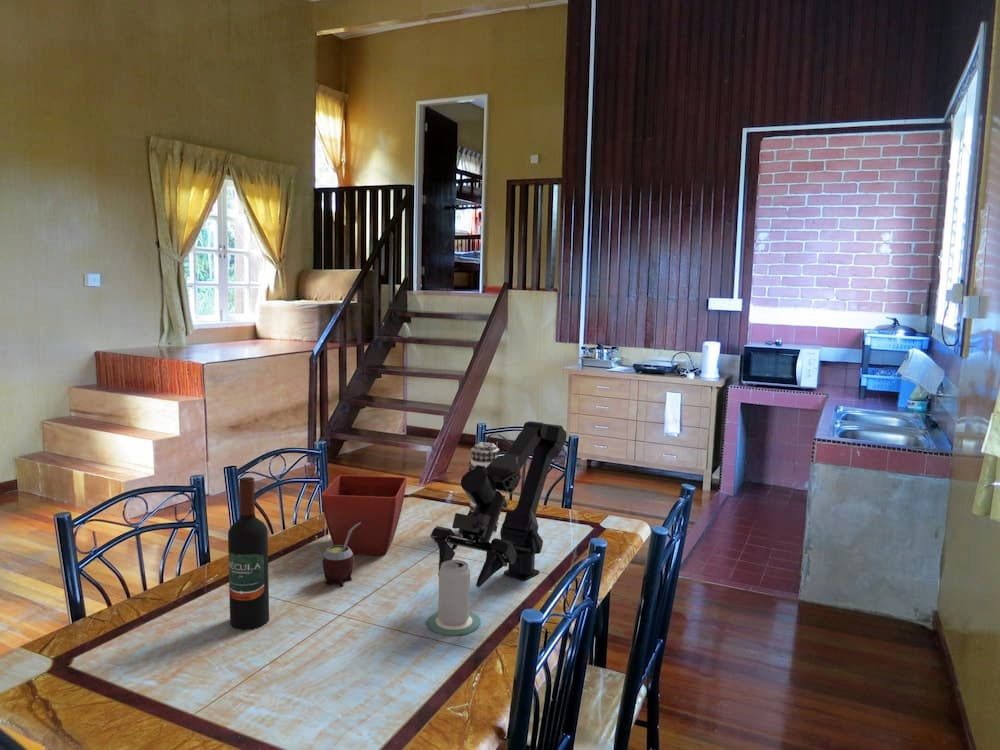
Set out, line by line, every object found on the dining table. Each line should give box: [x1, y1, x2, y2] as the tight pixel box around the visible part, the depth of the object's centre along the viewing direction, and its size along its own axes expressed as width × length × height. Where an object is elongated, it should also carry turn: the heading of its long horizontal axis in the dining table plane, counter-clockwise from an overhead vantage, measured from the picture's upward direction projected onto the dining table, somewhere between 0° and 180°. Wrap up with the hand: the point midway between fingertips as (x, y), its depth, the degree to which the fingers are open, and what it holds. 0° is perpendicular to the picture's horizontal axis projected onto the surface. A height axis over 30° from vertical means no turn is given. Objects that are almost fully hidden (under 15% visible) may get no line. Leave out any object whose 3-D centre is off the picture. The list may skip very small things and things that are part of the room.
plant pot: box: [320, 474, 407, 556], centre depth 189 cm, size 19×19×17 cm
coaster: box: [426, 610, 482, 637], centre depth 148 cm, size 11×11×1 cm
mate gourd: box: [322, 522, 361, 588], centre depth 167 cm, size 8×8×15 cm
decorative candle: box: [468, 441, 500, 534], centre depth 205 cm, size 9×9×25 cm
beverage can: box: [437, 559, 471, 626], centre depth 148 cm, size 6×6×12 cm
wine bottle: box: [227, 476, 270, 631], centre depth 145 cm, size 8×8×30 cm
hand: (458, 581), depth 149 cm, fingers open, 9 cm apart
